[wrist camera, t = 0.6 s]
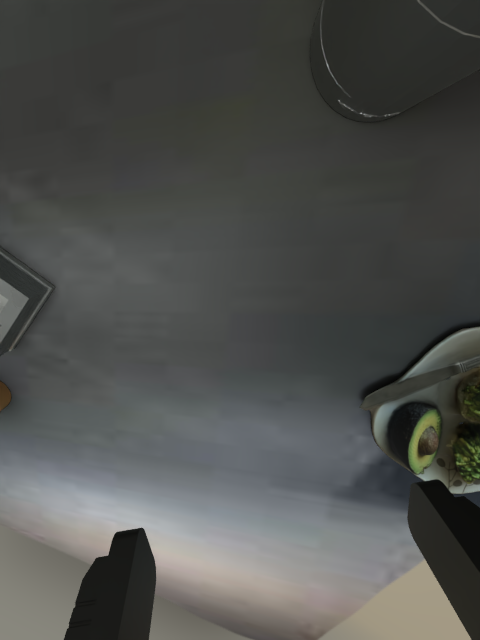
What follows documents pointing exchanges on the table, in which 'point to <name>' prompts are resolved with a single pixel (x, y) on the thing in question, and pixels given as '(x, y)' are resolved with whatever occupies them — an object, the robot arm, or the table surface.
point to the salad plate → (434, 414)
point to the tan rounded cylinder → (4, 396)
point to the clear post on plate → (18, 299)
